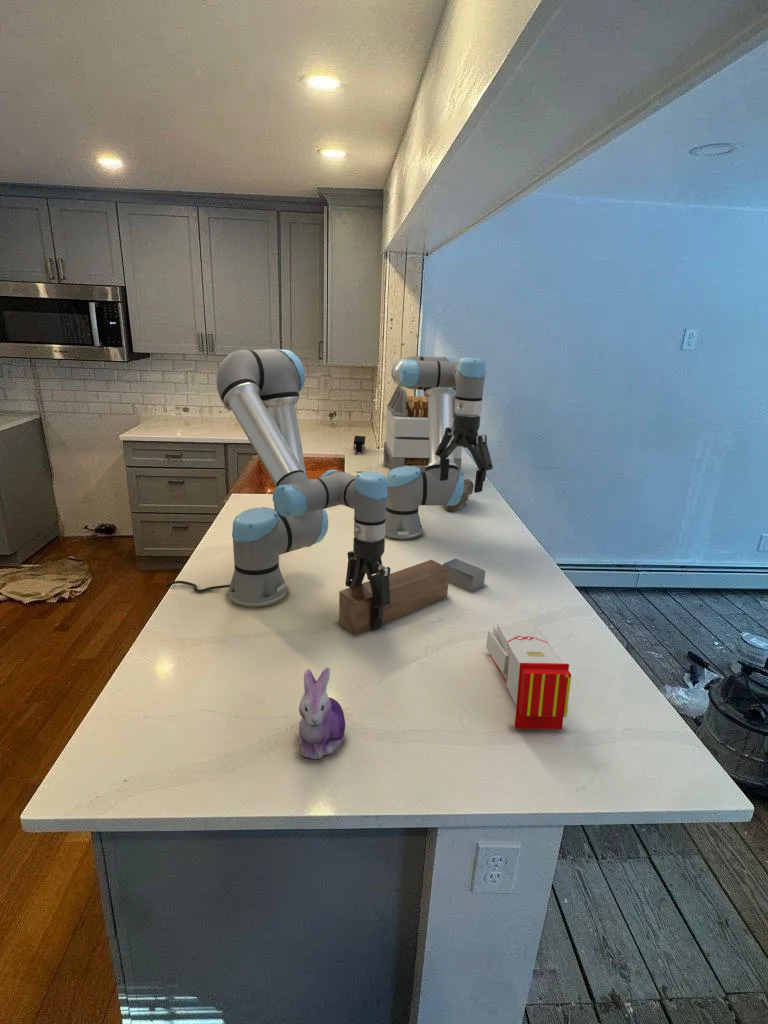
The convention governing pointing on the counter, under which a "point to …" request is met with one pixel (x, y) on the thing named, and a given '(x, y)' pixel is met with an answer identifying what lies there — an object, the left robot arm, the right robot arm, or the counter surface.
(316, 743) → the figurine
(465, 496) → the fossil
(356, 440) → the figurine character
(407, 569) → the walnut stand
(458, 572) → the grey block
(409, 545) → the counter surface
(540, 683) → the toy
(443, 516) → the counter surface
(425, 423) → the transformer
